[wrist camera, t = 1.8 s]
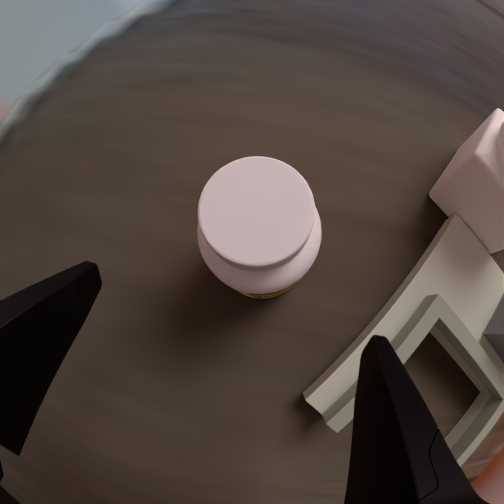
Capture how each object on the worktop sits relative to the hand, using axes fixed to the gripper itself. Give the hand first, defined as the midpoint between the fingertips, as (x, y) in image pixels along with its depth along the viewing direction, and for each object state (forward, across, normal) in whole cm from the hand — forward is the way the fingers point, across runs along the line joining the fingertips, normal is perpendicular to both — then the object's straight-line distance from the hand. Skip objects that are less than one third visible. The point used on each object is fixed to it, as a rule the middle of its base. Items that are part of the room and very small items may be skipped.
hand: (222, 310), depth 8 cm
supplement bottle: (+10, 0, +5) cm, 11 cm away
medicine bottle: (+16, -16, -1) cm, 23 cm away
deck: (+6, -15, +8) cm, 18 cm away
